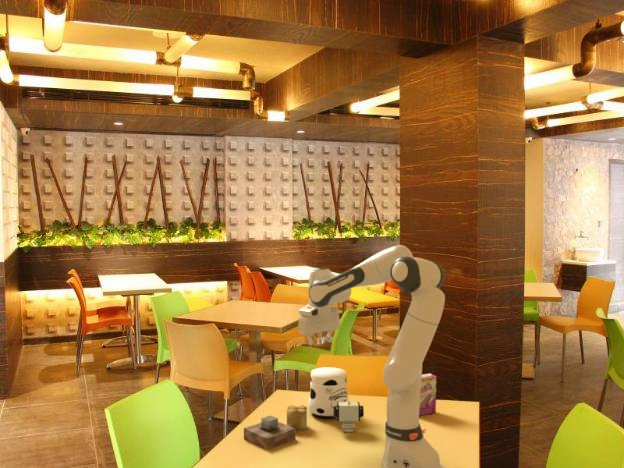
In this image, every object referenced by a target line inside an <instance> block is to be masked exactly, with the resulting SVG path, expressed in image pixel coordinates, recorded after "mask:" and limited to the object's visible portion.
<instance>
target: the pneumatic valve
mask: <svg viewBox="0 0 624 468" xmlns="http://www.w3.org/2000/svg"><path fill="white" fill-rule="evenodd" d="M364 415H365V411H364V405H361V404H360V401H350V400H349V401H347V402H337V404H336V406H333V416H334V417H333V418H336V419H337V420H336V421H337V422H342V423H341V430H342V431H343V432H344V433H353V432H354V431H355V430H356V423H354V422H361V419H362V418H364Z"/></svg>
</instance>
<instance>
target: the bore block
mask: <svg viewBox="0 0 624 468" xmlns="http://www.w3.org/2000/svg"><path fill="white" fill-rule="evenodd" d="M243 439H244V440H247V441H249V442H251V443H253V444H254V445H257V446H259V447H261V448H264V449H265V450H269V449H271V448H275V447H276V446H280V445H283V444H285V443H288V442H291V441H295V440H296V430H295V428H292V427H290V426H288V425H287V424H285V423H282V422H280V421H278V430H275V431H272V432H269V433H268V432H266V431H263V430H261V422H259V423H256V424H252V425H250V426H247V427H244V428H243Z"/></svg>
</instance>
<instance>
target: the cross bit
mask: <svg viewBox="0 0 624 468" xmlns="http://www.w3.org/2000/svg"><path fill="white" fill-rule="evenodd" d="M307 407H308V406H306V405H299V406H296V405H293V404H292V405H288V406H287V410H286V425H288V426H290V427H292V428H295V431H299V432H306V431H307V426H308V423H307V422H308V421H307V419H308V417H307V416H308V414H307V413H308V411H307V410H308V408H307Z"/></svg>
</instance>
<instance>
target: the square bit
mask: <svg viewBox="0 0 624 468" xmlns="http://www.w3.org/2000/svg"><path fill="white" fill-rule="evenodd" d="M260 421H261V422H260V423H261V430H263V431H266V432H268V433H269V432H272V431H275V430H278V422H279V418H278V417H276V416H273V415H268V416H263V417H261V420H260Z"/></svg>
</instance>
